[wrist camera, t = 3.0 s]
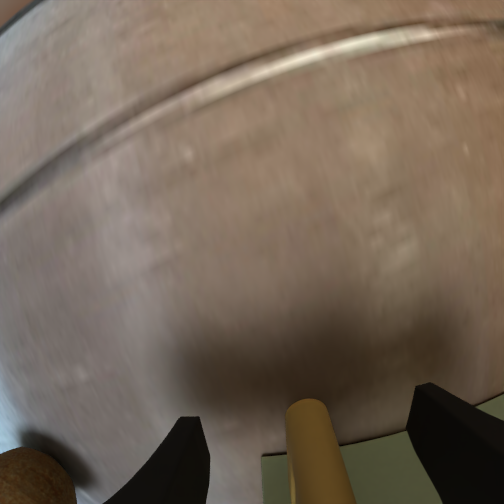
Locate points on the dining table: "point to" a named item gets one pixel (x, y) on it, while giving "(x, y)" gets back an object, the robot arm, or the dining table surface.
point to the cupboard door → (347, 464)
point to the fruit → (33, 479)
